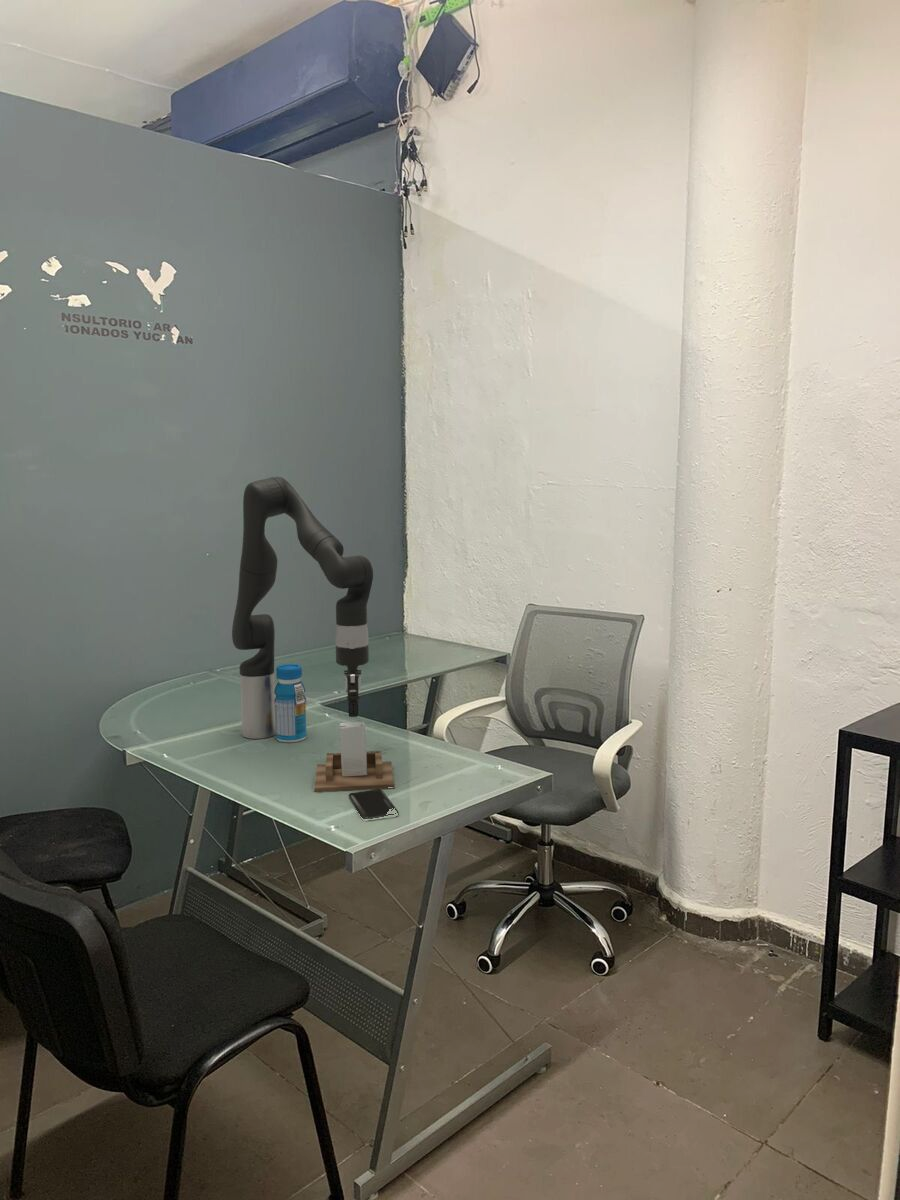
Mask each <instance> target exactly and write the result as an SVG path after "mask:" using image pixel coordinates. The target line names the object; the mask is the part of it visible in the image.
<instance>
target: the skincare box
mask: <svg viewBox="0 0 900 1200" xmlns="http://www.w3.org/2000/svg"><path fill="white" fill-rule="evenodd" d="M366 734H367V733H366V722H365V721H357V722H355V721H354V722H340V723H339V741H340V742H339V743H340V753H341V767H342V776H343V777H344V776H363V775H367V754H366V752H367V737H366Z"/></svg>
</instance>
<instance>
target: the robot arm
mask: <svg viewBox="0 0 900 1200" xmlns="http://www.w3.org/2000/svg"><path fill="white" fill-rule="evenodd" d="M242 497H243V501H242V502H243V503H242V505H243V506H242V508H243V509H242V513H243V518H242V519H243V527H242V528H243V531H242V533H243V534H242V547H241V555H240V556H241V557H240V564H239V575H238V576H239V578H238V588H237V589H238V591H237V600H236V605H235V610H234V615H233V620H232V628H231V637H232V638H231V639H232V640H231V641H232V644H233V646H234V648H236V649H237V650H239V651H240V650H241V651H243V650H244V651H247V650H258V652H256V654H255V655H253V656H252V657H250V658H248V659H246V660H244V661H242V662H241V663H240V664H239V682H240V683H239V686H240V687H239V688H240V704H241V705H240V708H241V709H240V710H241V729H242V733H241V735H242V736H243V738H246V739H251V740H253V739H254V740H255V739H256V740H257V739H267V738H270V737H271V738H272V737H273V736H276V719H275V704H274V699H275V697H276V695H275V693H274V690H275V687H276V680H275V638H276V637H275V632H276V631H275V623H274V619H273V618H272V616H271V615H270V614H267V613H265V614H262V613H261V614H253V613H254V609H255V608H256V607H257V605H258V604H259V603H260V602H261V600H263V598H265V596H267V594H268V593H269V592H270V590H271V589H273V586H274V585H275V582H276V579H277V578H276V577H277V569H278V556H277V554H276V551H275V549H274V548H273V546H272V545H271V543H270V542H269V541H268V539H267V537H266V534H265V533H266V531H265V529H266V528H265V527H266V521H267V519H268V518H272V517H276V516H279V515H282V514H286V515H287V516H289V518H291V519H292V520H293V521H294V522H295V527H296V534H297V539H298V541H299V544H300V546H301V547H302V548H303V549H304V551H305V552H306V553H307V554H309V556H311V557H312V558H313V559H314V560H315V561H316V562H317V563H318V564H319V567H320V569H321V571H322V572H323V573H324V576H325V577H326V579H327V580H328V582H329V583H330V585H332V586H334V587H335V588H338V589H341V590H344V589H347V592H346V594H345V596H343V597H341V598H340V599H338V600H337V601H336V604H335V633H334V634H335V663H336V664H337V665H340V666H344V667H345V666H346V667H347V669H344V670H343V671H344V672H343V679H344V682H345V683H344V684H345V685H344V687H345V688H344V689H345V692H346V693H347V696H346V700H347V703H348V704H347V705H348V717H350V718H357V717H359V700H360V696H359V692H361V680H362V669H359V668H358V667H359V666H365V665H367V664H368V663H369V661H370V658H369V656H370V655H369V652H370V651H369V629H368V609H367V606H368V602H369V598H370V593H371V589H372V585H373V581H374V580H373V579H374V569H373V566H372V563H371V561H370V560H369V559H368V558H367V557H366V556H363V555H353V556H352V555H351V556H344V557H343V555H344V551H345V550H344V549H345V548H344V546H343V544H342V543H341V541H340V540H339V539H338V538H337V537H336V536H334V534H332V532H331V531H329V529H327V528H326V527H325V526H324V525H323V524H322V523H321V522H320V521H319V520H318V518H316V516H315V515H314V514H313V512H312V511H311V510H310V508H309V507H308V505H307V504H306V503H305V501H304V500H303V499H302V498H301V496H300V495H299V493H298V492H297V491H296V490H295V488H294V487H293V486H292V485H291V484H290V483H289V481H287V479H285V478H284V477H282V476H272V477H267V478H263V479H259V480H255V481H252V482H249V483H248V484H247V485H246V486H245V489H244V491H243V496H242Z"/></svg>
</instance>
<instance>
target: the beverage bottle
mask: <svg viewBox="0 0 900 1200" xmlns="http://www.w3.org/2000/svg"><path fill="white" fill-rule="evenodd" d="M275 673H276V679H277V680H278V682H277V683H276V684H275V690H274V693H275V699H274V704H275V719H276V734H275V738H276V740H277V741H278V742H281V743H296V742H297V743H298V742H301V741H303V740H305V739H306V738H307V713H306V712H307V710H306V709H307V706H306V703H307V698H306V696H305V692H306V688H305V685H304V684H303V682H302V681H301V679H303V678H302V677H303V668H302V665H300V664H298V663H297V664H296V663H286V664H285V663H284V664H280V665H278V666H276V669H275Z"/></svg>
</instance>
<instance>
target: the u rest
mask: <svg viewBox="0 0 900 1200" xmlns="http://www.w3.org/2000/svg"><path fill="white" fill-rule="evenodd" d="M366 754H367V775H363V776H344V777H343V776H342V767H341V752H329V753H328V752H326V758H325V759H326V760H325V763H320V764H319V763H318V764H316V772H315V778H314V787H313V788H314V789H313V791H314V793H321V792H323V793H326V792H345V791H349V792H350V791H368V790H367V789H371V790H380V789H379V788H388V787H394V788H395V781H394V779H395V778H394V771H393V764H392V761H391V760H389V761H387V760H386V761H383V757H382V750H376V751H375V750H374V751H366Z"/></svg>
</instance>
